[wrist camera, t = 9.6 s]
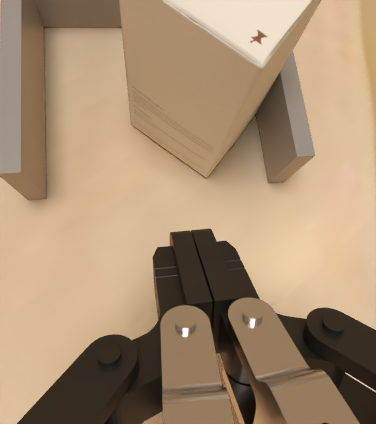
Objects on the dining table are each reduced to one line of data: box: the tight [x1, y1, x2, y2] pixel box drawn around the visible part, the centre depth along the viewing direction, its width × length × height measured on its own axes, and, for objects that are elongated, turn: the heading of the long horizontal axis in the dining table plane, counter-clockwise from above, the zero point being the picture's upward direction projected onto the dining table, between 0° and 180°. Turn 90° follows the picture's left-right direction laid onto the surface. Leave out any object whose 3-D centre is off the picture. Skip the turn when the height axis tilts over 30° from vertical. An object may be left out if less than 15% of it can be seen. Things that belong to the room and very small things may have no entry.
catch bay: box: [0, 0, 315, 200], centre depth 24 cm, size 15×18×5 cm
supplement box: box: [119, 0, 321, 178], centre depth 20 cm, size 7×7×13 cm
